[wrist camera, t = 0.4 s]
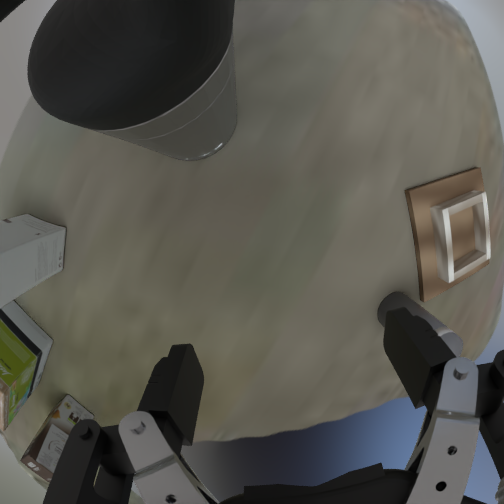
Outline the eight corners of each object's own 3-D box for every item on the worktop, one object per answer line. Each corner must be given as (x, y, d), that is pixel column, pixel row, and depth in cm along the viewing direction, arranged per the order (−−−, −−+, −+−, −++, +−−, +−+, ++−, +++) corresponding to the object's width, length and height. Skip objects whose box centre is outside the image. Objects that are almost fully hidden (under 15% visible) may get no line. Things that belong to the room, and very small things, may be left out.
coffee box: (67, 392, 34) (27, 454, 18) (95, 415, 35) (63, 481, 19) (53, 407, 35) (19, 460, 19) (77, 427, 36) (49, 484, 21)
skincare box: (67, 227, 27) (-21, 259, 13) (64, 272, 29) (-13, 322, 14) (25, 212, 26) (-56, 234, 12) (23, 254, 28) (-51, 290, 13)
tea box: (41, 384, 33) (4, 434, 19) (4, 349, 32) (-38, 390, 17) (55, 339, 31) (2, 397, 17) (13, 297, 29) (-46, 338, 15)
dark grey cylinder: (375, 300, 31) (427, 351, 19) (407, 286, 31) (465, 327, 19) (379, 331, 32) (424, 386, 21) (409, 317, 32) (460, 363, 20)
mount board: (404, 190, 28) (421, 192, 24) (475, 167, 27) (492, 168, 24) (420, 299, 31) (434, 310, 28) (485, 261, 31) (499, 268, 27)
